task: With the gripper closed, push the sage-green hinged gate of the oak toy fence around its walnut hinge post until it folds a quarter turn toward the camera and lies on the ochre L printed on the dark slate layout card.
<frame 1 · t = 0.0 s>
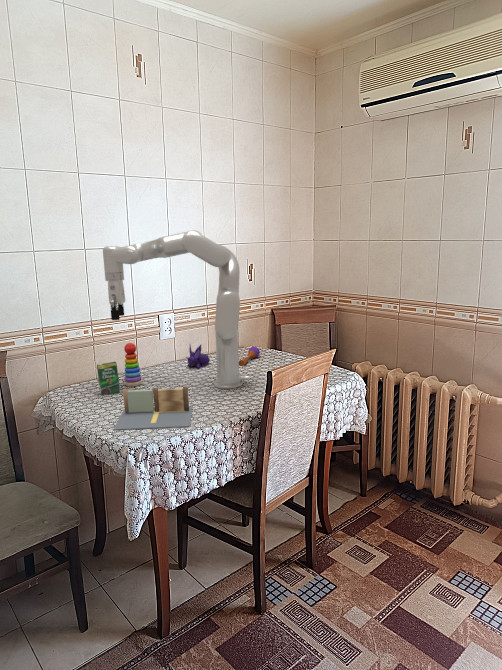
hand: (118, 317, 207), 31 cm above the table, tool pointing down, fingers open, 9 cm apart
kendama: (249, 361, 252), on the table
layout card: (155, 418, 180), on the table
creature: (197, 366, 245), on the table
fence gate: (138, 400, 184), point 5 cm above the table, hinge at 0.0°
coffee box: (109, 393, 208), on the table
fence fixed: (172, 412, 185), resting on layout card
stacking toy: (133, 384, 219), on the table
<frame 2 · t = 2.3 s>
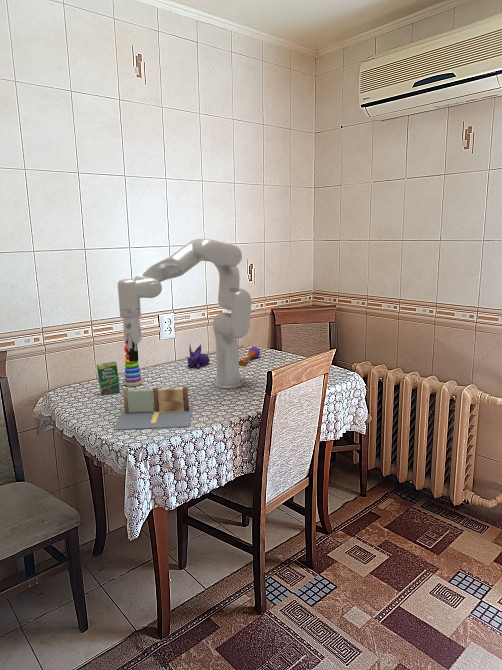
hand: (134, 361, 186), 19 cm above the table, tool pointing down, fingers closed
nothing on the table moved.
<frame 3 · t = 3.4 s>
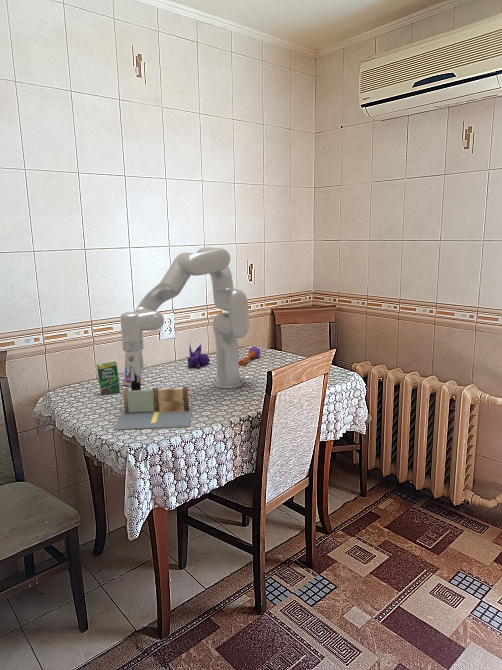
hand: (136, 392, 189), 7 cm above the table, tool pointing down, fingers closed
nothing on the table moved.
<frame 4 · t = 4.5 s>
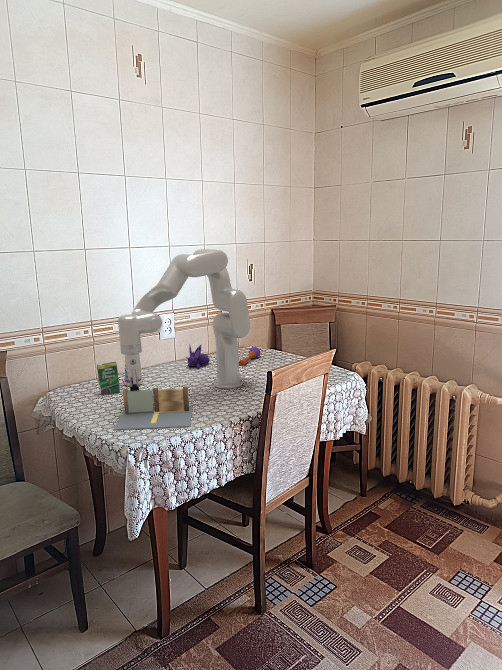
hand: (135, 395, 186), 6 cm above the table, tool pointing down, fingers closed
fence gate: (138, 400, 183), point 5 cm above the table, hinge at 2.0°, touching gripper
everything else where it was.
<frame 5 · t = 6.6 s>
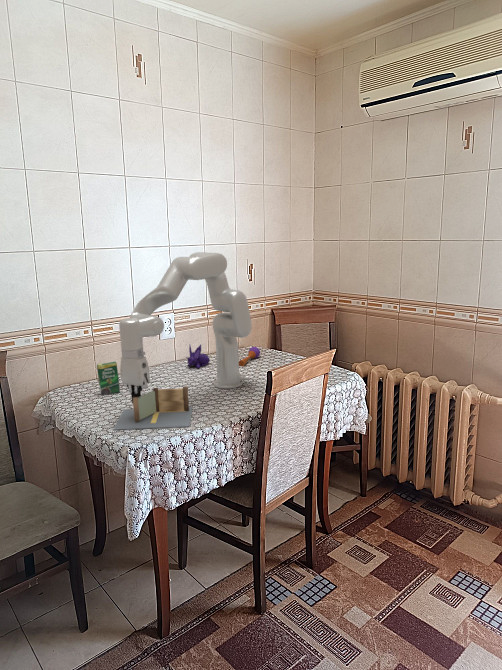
hand: (136, 402, 178), 6 cm above the table, tool pointing down, fingers closed
fence gate: (144, 405, 178), point 5 cm above the table, hinge at 58.3°, touching gripper
everything else where it was.
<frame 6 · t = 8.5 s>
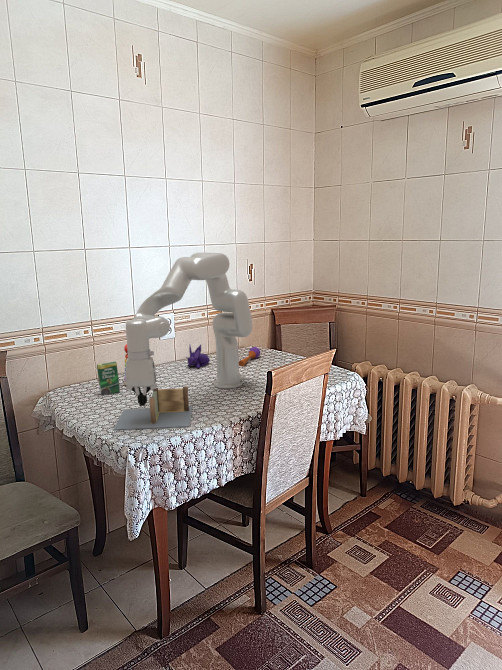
hand: (142, 404, 176), 6 cm above the table, tool pointing down, fingers closed
fence gate: (154, 405, 178), point 5 cm above the table, hinge at 90.9°
everything else where it was.
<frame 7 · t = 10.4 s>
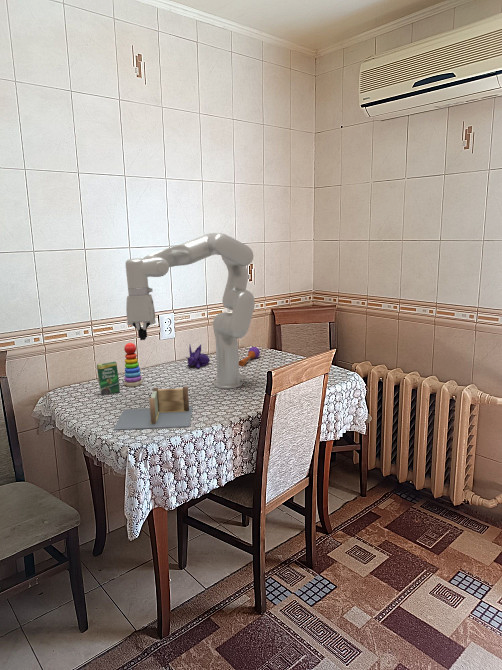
hand: (143, 339, 190), 26 cm above the table, tool pointing down, fingers closed
nothing on the table moved.
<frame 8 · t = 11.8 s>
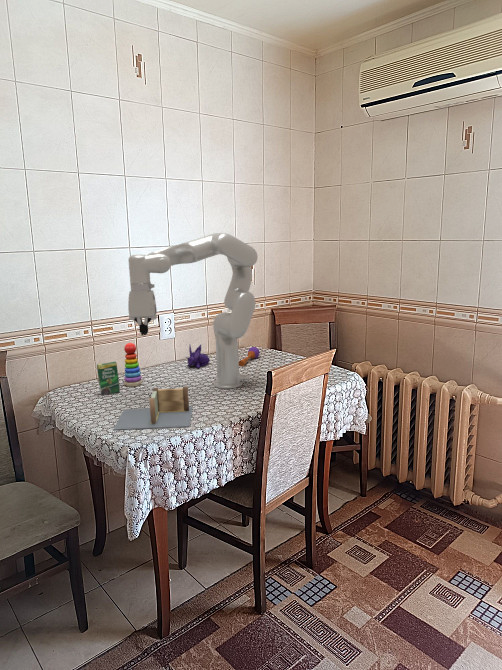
hand: (144, 334, 193), 27 cm above the table, tool pointing down, fingers closed
nothing on the table moved.
at the end: fence gate at +91° (first picture: +0°) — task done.
